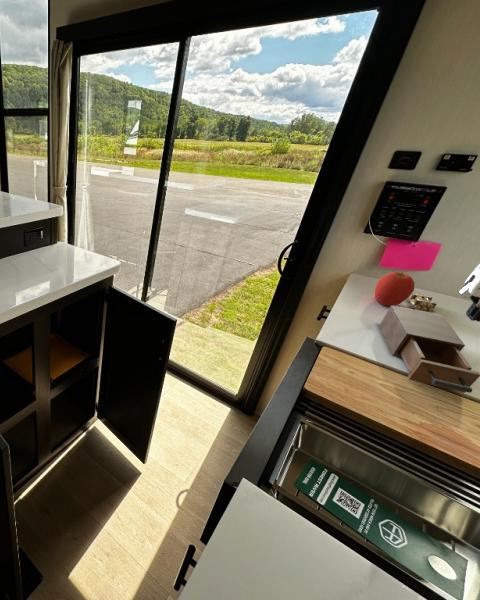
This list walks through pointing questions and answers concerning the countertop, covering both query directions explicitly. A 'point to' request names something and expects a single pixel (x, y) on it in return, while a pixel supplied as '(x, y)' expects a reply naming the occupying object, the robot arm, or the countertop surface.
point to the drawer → (437, 365)
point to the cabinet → (416, 328)
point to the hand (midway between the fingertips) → (472, 318)
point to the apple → (394, 289)
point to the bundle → (422, 302)
